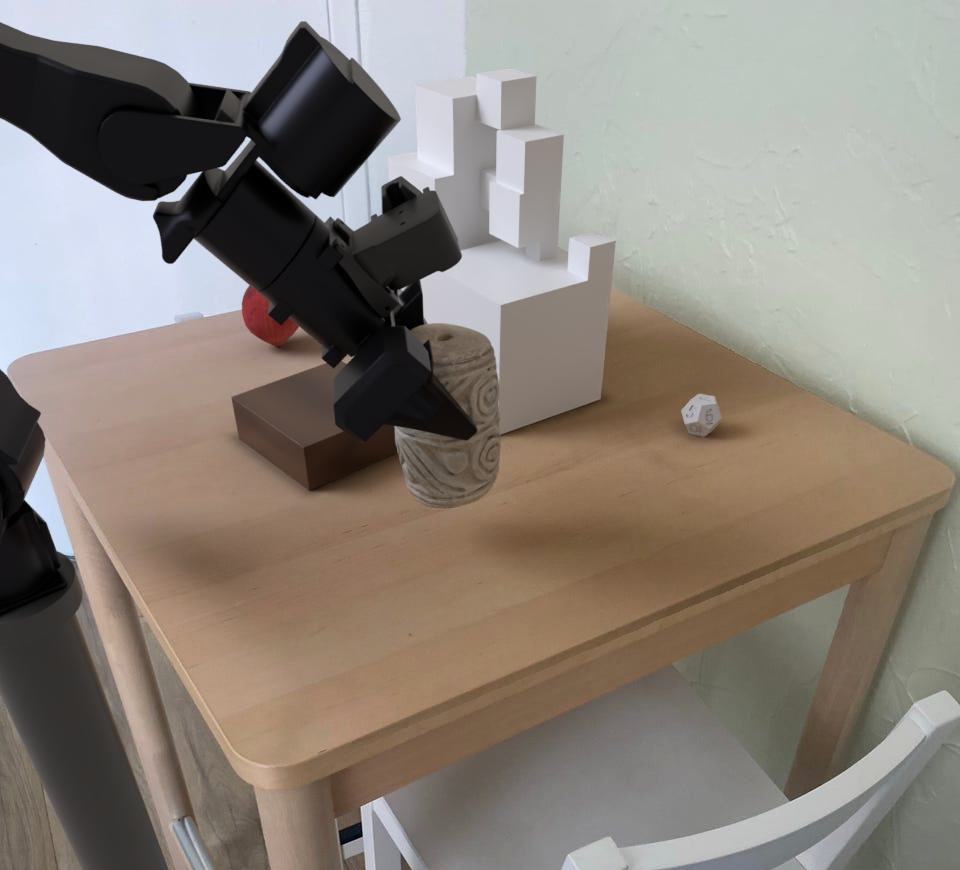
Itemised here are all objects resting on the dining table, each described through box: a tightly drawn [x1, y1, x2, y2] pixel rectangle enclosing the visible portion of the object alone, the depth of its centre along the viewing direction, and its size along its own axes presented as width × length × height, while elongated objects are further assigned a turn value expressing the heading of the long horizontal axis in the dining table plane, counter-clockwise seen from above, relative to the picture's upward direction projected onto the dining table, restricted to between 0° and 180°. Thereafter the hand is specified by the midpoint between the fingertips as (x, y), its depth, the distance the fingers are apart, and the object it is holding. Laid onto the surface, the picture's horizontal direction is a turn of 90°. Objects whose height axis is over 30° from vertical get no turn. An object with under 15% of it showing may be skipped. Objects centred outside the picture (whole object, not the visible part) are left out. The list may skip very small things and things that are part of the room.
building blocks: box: [387, 67, 617, 435], centre depth 85 cm, size 22×12×25 cm, turn 35°
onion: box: [241, 284, 300, 348], centre depth 95 cm, size 6×6×8 cm
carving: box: [394, 323, 502, 510], centre depth 66 cm, size 6×8×12 cm
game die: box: [680, 393, 723, 438], centre depth 84 cm, size 4×4×3 cm
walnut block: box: [231, 360, 398, 491], centre depth 82 cm, size 11×11×4 cm
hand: (468, 412), depth 66 cm, fingers closed on carving, 6 cm apart
